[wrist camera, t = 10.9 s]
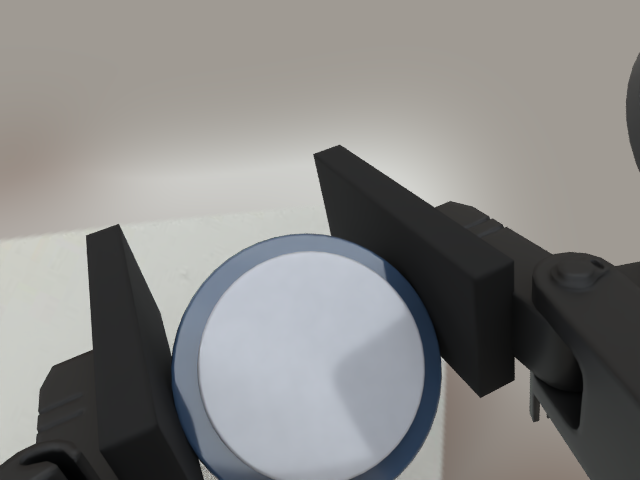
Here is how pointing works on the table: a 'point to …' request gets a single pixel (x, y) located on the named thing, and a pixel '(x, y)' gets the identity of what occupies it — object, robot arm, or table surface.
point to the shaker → (306, 364)
